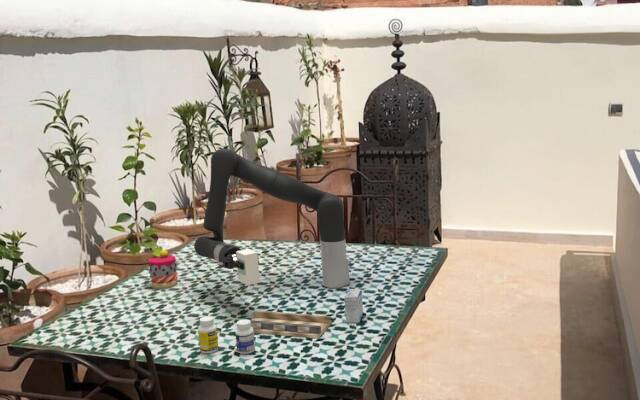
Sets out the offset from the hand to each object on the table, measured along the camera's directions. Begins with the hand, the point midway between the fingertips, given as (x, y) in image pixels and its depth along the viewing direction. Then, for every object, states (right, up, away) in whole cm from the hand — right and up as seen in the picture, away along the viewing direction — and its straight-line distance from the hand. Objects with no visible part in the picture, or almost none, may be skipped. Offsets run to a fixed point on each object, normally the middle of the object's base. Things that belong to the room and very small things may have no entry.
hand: (250, 265), depth 217 cm
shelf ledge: (+12, -19, -6) cm, 23 cm away
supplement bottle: (-10, -23, -19) cm, 32 cm away
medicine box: (+33, -17, -2) cm, 38 cm away
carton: (-1, -6, +3) cm, 6 cm away
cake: (-38, -12, +44) cm, 60 cm away
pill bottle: (+1, -23, -21) cm, 31 cm away
